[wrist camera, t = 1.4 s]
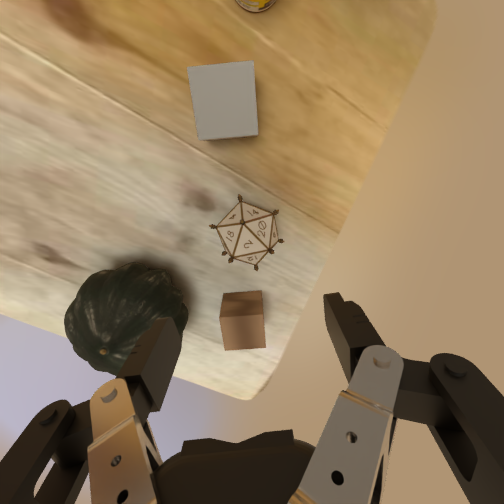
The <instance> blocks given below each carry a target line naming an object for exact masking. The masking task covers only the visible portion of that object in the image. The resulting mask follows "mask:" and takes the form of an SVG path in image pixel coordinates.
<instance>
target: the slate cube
mask: <svg viewBox="0 0 504 504" xmlns="http://www.w3.org/2000/svg"><path fill="white" fill-rule="evenodd" d="M187 71H188V77H189V84H190V90H191V96H192V103H193V109H194V115H195V122H196V128H197V134H198V140H203V141H211V140H221V139H232V138H243V137H254V136H258V121H257V106H256V91H255V76H254V61H253V60H251V61H241V62H232V63H222V64H212V65H202V66H192V67H187Z"/></svg>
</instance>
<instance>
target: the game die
mask: <svg viewBox="0 0 504 504" xmlns="http://www.w3.org/2000/svg"><path fill="white" fill-rule="evenodd" d="M238 200H239V203H238V204H237V205H236V206H235V207H234V208H233V209H232V210H231V211H230V212H229V213H228V214H227V215H226V216H225V218H224V219H223V220H222V221H221V222H220V223H219V224H218V225H217V226H215V225H213V224H212V225H209V226H210V227H211V229H212V228H213V229H214V228H216V230H217V232H218V234H219V237H220V239H221V242H222V244H223V247H224V249H225V251H224V252H222V255H224V256H225V255H226V254H227V253H228V254H229V255H230V256H231V257H230V259H229V260H228V261H229V263H231V262H233V261H234V260H233V259H236V260H239V261H243V262H246V263H249V264H252V265H254V268H255V270H256V271H258V269H259V268H258V266H257V264H258V263H259V262H260V261H261V260H262V259H263V258H264V256H265V255H266V254H267V253H268V252H269V253H270V254H274V250H273V249H272V248H273V247H274V246H275V245H276V243H277V242H279V243H283V242H284V241H283V239H278V234H277V228H276V223H275V217H274V215H277V214H278V212H279V210H275V211H273V213H271V212H269V211H266V210H263V209H261V208H258V207H256V206H253V205H251V204H248V203H246V202H243V201H242V196H241V195H240V194H239V196H238Z"/></svg>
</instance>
